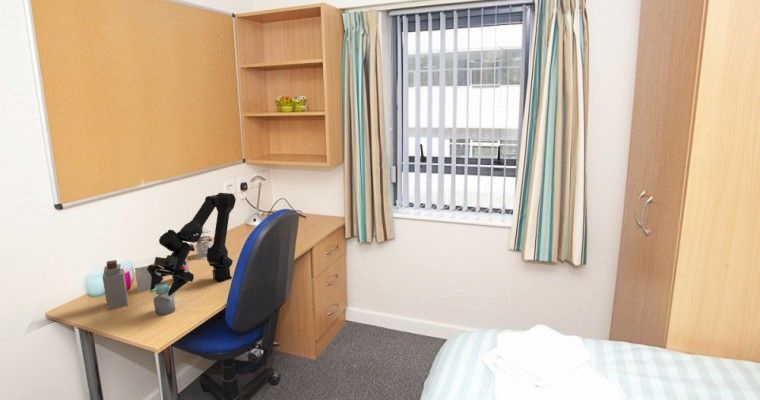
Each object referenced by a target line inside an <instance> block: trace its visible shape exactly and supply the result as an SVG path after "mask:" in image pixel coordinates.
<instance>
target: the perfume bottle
mask: <svg viewBox="0 0 760 400" xmlns="http://www.w3.org/2000/svg"><path fill="white" fill-rule="evenodd" d="M102 282H103V289H104V295H105V299H106V300H105V301H106V307H107V310H114V309H118V308H125V307H128V305H129V295H128V289H127V283H126V276H125V270H124V267H123V268H121V263H118V262H117V259H116V260H115V259H114V260H108V261H106V265H105V266H104V269H103V274H102ZM124 306H125V307H124Z"/></svg>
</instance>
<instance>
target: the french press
mask: <svg viewBox="0 0 760 400" xmlns="http://www.w3.org/2000/svg"><path fill="white" fill-rule="evenodd" d="M211 231H212V228H210V227H207V226H206V227H204V226H203V227H202V234H203V236H201V237H200V239H199V240H198V241H197V242H195V243H192V242H190V244H192V245H193V247H194V248H196V253H197V255H196V256H195V259H197V260H207V257H206V255H207V249H208V248H211V246H212V245H213V240H212V236H210V235H205V234H209V233H211Z"/></svg>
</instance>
